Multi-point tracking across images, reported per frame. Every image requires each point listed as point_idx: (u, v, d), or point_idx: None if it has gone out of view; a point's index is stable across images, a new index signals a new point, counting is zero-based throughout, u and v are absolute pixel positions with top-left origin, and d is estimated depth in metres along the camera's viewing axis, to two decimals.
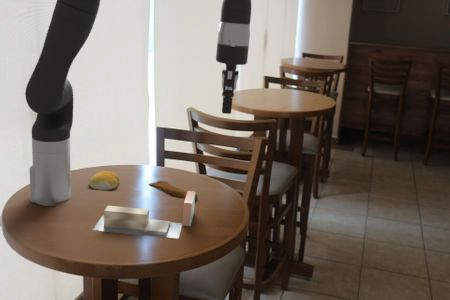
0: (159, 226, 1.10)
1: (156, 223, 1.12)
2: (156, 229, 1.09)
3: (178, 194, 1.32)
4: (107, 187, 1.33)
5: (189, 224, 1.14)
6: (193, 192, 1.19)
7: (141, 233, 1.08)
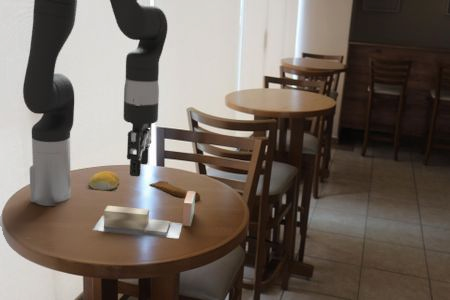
0: (159, 226, 1.10)
1: (156, 223, 1.12)
2: (156, 229, 1.09)
3: (180, 194, 1.32)
4: (107, 187, 1.33)
5: (189, 224, 1.14)
6: (193, 192, 1.19)
7: (141, 233, 1.08)
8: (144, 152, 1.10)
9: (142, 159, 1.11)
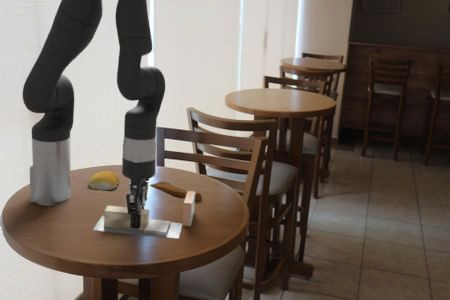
0: (159, 226, 1.10)
1: (156, 223, 1.12)
2: (156, 229, 1.09)
3: (182, 194, 1.32)
4: (107, 187, 1.33)
5: (189, 224, 1.14)
6: (193, 192, 1.19)
7: (141, 233, 1.08)
8: None
9: None
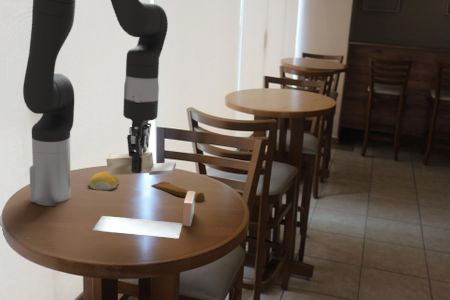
0: (164, 167, 1.07)
1: (161, 165, 1.09)
2: (161, 169, 1.06)
3: (184, 194, 1.32)
4: (106, 187, 1.33)
5: (189, 224, 1.14)
6: (193, 192, 1.19)
7: (141, 233, 1.08)
8: None
9: None
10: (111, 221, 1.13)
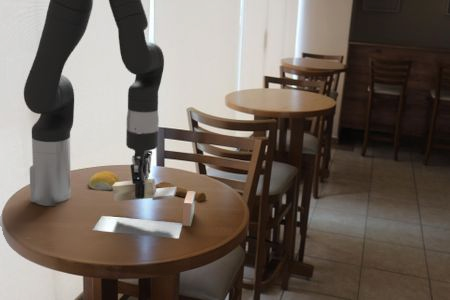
0: (166, 192, 1.15)
1: (163, 190, 1.17)
2: (163, 194, 1.14)
3: None
4: (106, 188, 1.33)
5: (189, 224, 1.14)
6: (193, 192, 1.19)
7: (141, 233, 1.08)
8: None
9: None
10: (111, 221, 1.13)
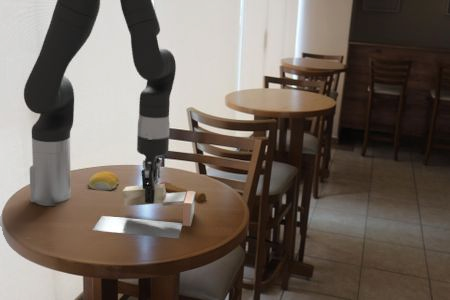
0: (176, 197, 1.16)
1: (173, 195, 1.17)
2: (174, 200, 1.14)
3: None
4: (106, 188, 1.33)
5: (189, 224, 1.14)
6: (193, 192, 1.19)
7: (141, 233, 1.08)
8: None
9: None
10: (111, 221, 1.13)
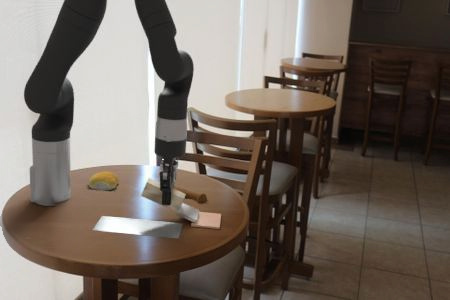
0: (190, 212, 1.17)
1: (187, 208, 1.18)
2: (188, 214, 1.15)
3: (186, 196, 1.32)
4: (106, 188, 1.33)
5: None
6: None
7: (141, 233, 1.08)
8: None
9: None
10: (111, 221, 1.13)
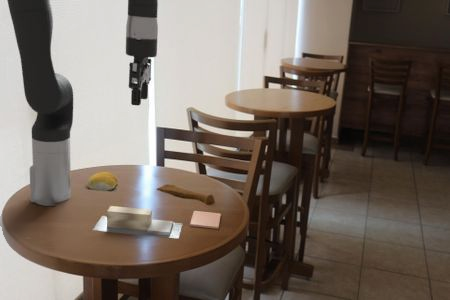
0: (162, 226, 1.10)
1: (159, 223, 1.12)
2: (159, 229, 1.09)
3: (193, 197, 1.31)
4: (105, 188, 1.33)
5: None
6: None
7: (141, 233, 1.08)
8: (144, 87, 1.21)
9: (142, 94, 1.21)
10: None
